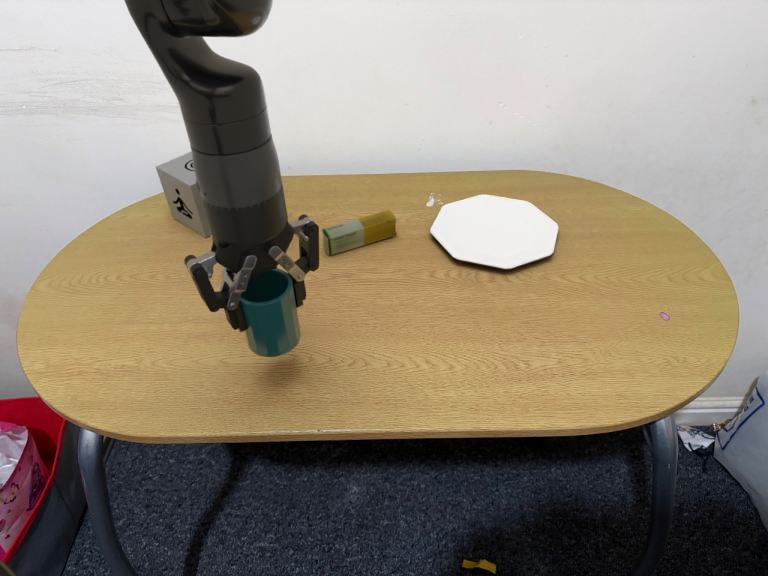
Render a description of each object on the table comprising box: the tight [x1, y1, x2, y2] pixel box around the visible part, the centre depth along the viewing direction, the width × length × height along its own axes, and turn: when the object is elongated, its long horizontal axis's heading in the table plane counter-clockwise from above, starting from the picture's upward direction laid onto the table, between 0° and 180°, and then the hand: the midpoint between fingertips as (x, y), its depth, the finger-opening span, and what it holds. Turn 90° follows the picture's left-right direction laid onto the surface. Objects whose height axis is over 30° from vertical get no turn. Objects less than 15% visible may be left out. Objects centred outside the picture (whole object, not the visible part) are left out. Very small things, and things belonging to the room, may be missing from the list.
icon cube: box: [155, 151, 212, 239], centre depth 92 cm, size 10×10×10 cm
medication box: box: [321, 209, 397, 257], centre depth 86 cm, size 12×3×4 cm, turn 115°
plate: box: [429, 193, 560, 271], centre depth 88 cm, size 20×20×2 cm
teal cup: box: [239, 267, 302, 358], centre depth 60 cm, size 6×6×8 cm
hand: (269, 314), depth 61 cm, fingers closed on teal cup, 6 cm apart
